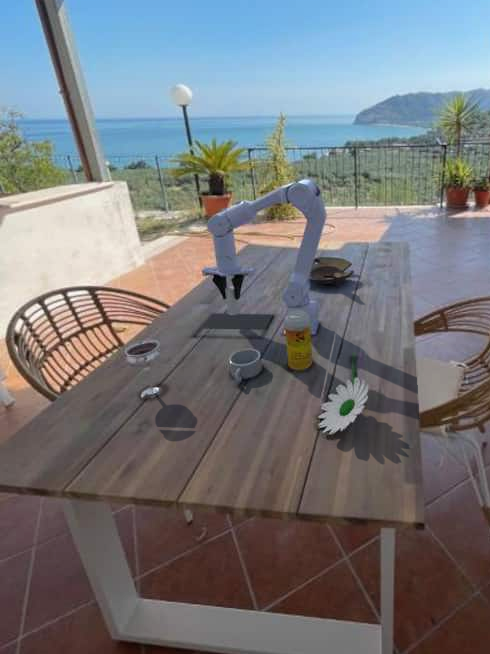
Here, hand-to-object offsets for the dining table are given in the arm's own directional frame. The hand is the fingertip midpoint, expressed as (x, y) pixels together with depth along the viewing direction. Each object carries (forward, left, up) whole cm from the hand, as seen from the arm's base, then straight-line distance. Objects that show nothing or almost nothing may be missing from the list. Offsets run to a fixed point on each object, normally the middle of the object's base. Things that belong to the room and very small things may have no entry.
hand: (231, 298), depth 116 cm
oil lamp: (-23, -37, -10) cm, 45 cm away
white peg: (0, 0, -5) cm, 5 cm away
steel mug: (-11, +24, -9) cm, 28 cm away
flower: (-38, +31, -10) cm, 50 cm away
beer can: (-24, +20, -10) cm, 33 cm away
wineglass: (+8, +32, -10) cm, 34 cm away
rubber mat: (0, 0, -9) cm, 9 cm away
